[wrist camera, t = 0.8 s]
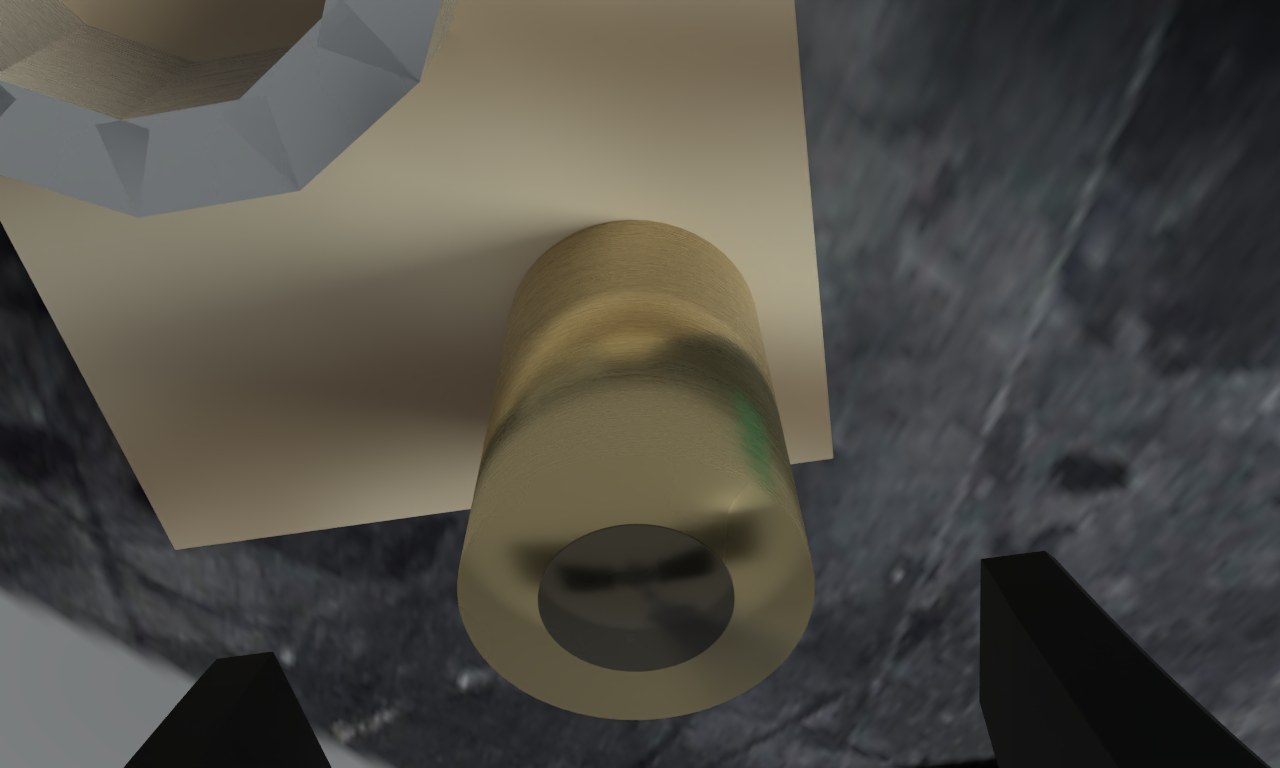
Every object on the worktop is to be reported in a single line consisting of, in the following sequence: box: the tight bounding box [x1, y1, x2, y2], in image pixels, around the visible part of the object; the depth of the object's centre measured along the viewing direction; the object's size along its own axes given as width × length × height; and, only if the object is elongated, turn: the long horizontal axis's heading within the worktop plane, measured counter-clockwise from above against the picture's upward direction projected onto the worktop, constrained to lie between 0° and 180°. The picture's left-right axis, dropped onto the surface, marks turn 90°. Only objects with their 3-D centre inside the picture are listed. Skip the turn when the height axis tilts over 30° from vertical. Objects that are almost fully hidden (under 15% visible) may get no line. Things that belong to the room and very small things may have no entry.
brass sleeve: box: [457, 220, 815, 720], centre depth 14 cm, size 4×4×6 cm
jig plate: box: [0, 0, 833, 550], centre depth 15 cm, size 16×12×1 cm
